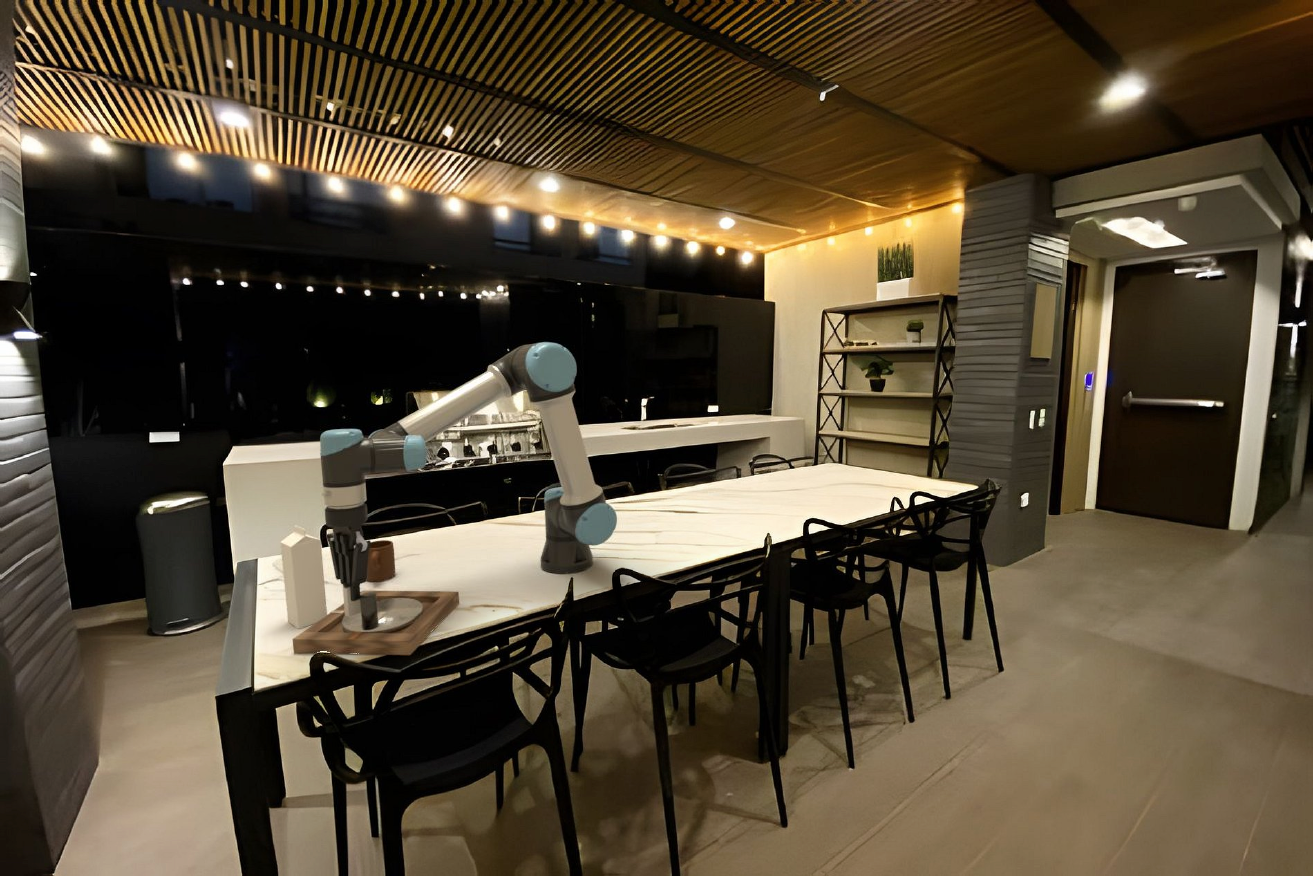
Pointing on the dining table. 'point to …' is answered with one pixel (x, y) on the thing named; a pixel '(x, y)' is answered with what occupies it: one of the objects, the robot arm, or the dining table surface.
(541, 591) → the dining table surface
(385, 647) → the board
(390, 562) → the mug
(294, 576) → the milk
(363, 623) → the dial
